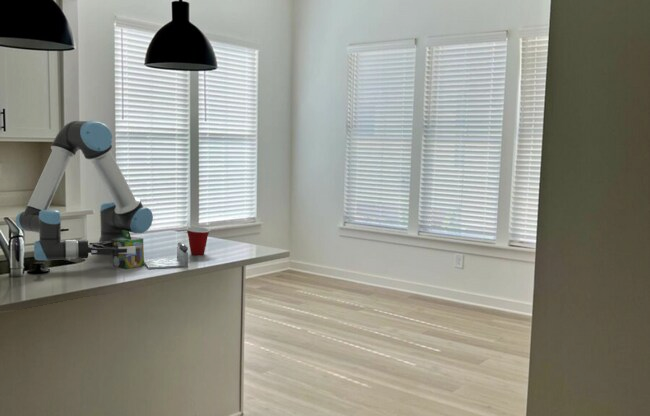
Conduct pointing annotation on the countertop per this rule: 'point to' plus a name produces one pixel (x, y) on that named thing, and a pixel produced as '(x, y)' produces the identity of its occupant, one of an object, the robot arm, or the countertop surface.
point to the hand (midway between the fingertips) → (133, 246)
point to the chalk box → (128, 259)
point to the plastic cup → (197, 239)
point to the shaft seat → (170, 259)
